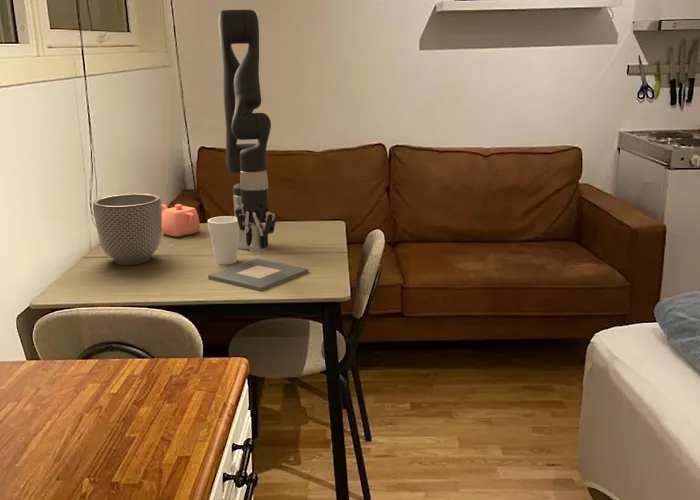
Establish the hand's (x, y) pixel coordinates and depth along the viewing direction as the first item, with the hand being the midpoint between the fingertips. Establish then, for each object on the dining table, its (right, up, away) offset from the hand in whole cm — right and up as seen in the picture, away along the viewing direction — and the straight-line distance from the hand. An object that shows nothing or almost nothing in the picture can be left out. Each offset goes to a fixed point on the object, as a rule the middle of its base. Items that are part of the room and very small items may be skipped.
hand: (257, 246), depth 205 cm
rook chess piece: (0, -1, 0) cm, 1 cm away
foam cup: (-12, -5, +16) cm, 21 cm away
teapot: (-34, +5, +51) cm, 61 cm away
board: (0, -8, +2) cm, 8 cm away
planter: (-41, -4, +19) cm, 45 cm away
